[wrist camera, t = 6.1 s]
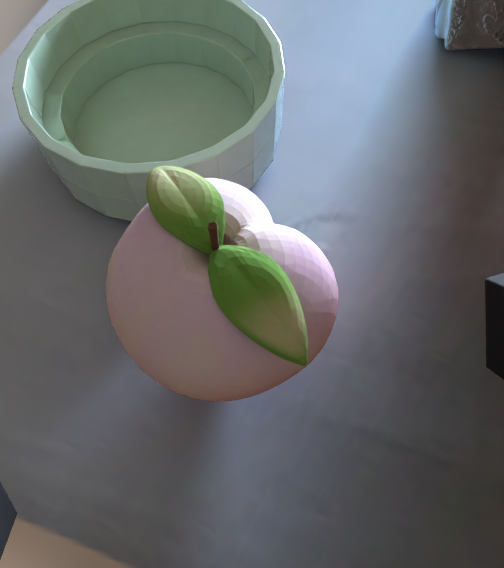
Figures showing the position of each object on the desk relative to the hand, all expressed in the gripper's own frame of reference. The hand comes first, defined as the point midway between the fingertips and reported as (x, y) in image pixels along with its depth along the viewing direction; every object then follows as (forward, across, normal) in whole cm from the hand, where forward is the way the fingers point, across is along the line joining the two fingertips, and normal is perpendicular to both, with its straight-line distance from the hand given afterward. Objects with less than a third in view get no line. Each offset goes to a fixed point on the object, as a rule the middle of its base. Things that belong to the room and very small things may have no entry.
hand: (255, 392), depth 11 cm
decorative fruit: (+11, 0, -4) cm, 12 cm away
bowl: (+21, 0, +6) cm, 22 cm away
